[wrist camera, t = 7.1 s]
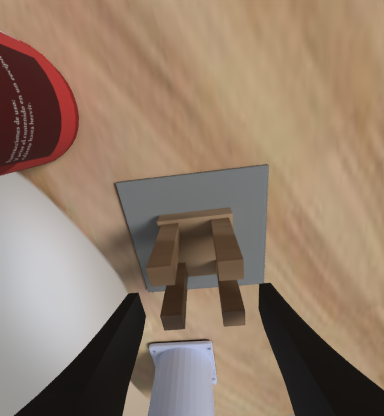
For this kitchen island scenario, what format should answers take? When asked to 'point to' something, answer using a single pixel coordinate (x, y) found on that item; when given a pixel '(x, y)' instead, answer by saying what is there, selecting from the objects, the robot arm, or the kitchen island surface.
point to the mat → (196, 201)
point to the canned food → (32, 108)
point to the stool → (197, 262)
